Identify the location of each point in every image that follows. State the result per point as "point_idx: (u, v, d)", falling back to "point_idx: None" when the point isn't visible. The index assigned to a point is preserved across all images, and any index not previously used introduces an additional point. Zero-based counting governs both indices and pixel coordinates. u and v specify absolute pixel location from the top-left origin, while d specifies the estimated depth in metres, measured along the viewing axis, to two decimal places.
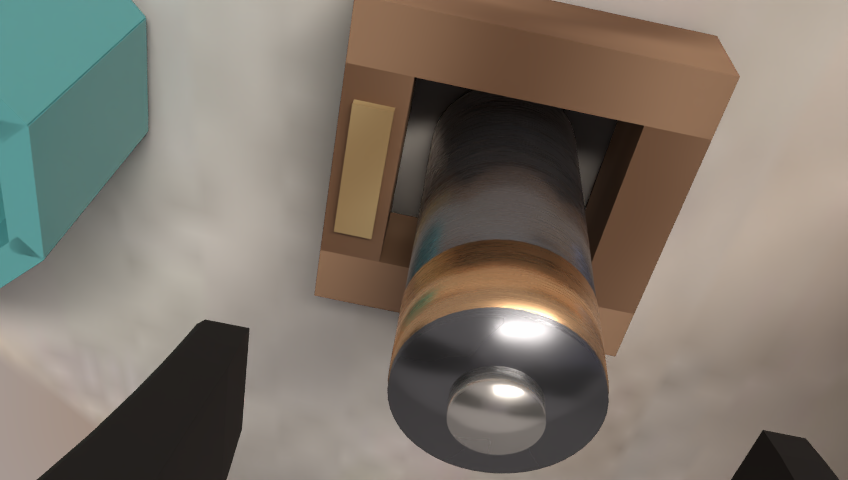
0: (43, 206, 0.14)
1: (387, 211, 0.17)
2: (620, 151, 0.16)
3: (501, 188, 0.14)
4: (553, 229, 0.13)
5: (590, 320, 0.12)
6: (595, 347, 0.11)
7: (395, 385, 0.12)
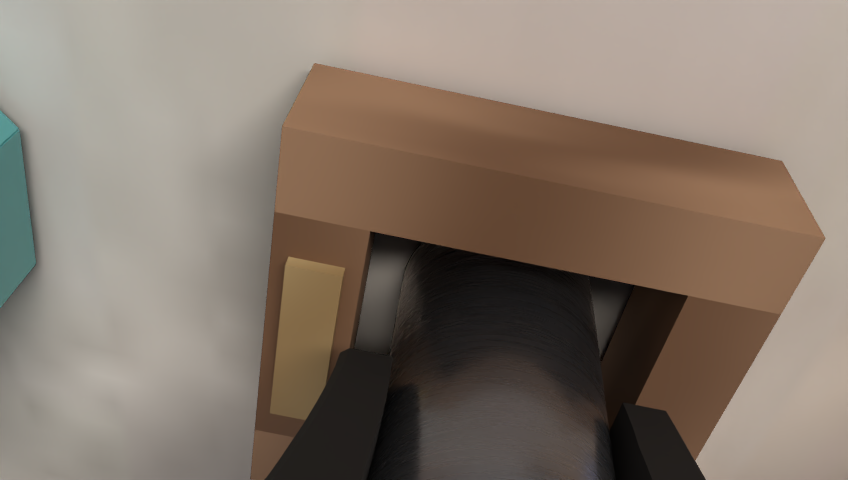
0: None
1: None
2: (651, 310, 0.12)
3: (489, 413, 0.09)
4: None
5: None
6: None
7: None
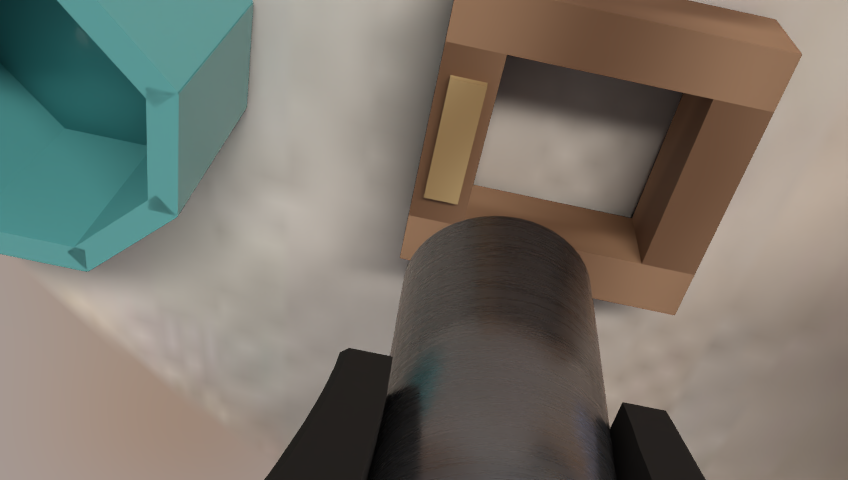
0: (181, 167, 0.16)
1: (473, 178, 0.18)
2: (686, 124, 0.18)
3: (490, 414, 0.09)
4: None
5: None
6: None
7: None
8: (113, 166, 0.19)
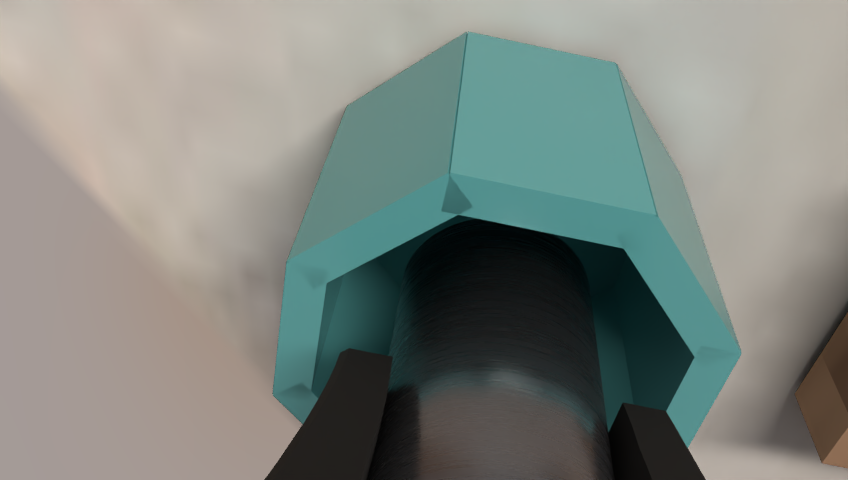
0: None
1: None
2: None
3: (488, 416, 0.09)
4: None
5: None
6: None
7: None
8: None
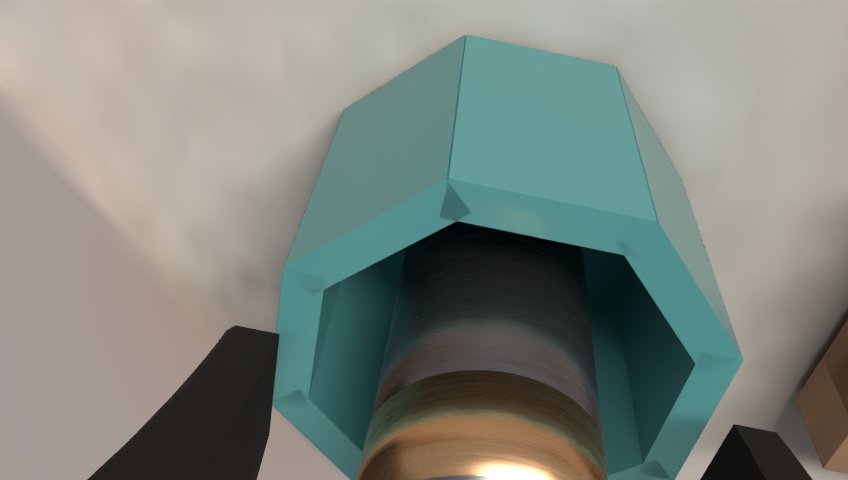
0: None
1: None
2: None
3: (487, 293, 0.11)
4: (550, 350, 0.11)
5: (595, 479, 0.09)
6: None
7: None
8: None
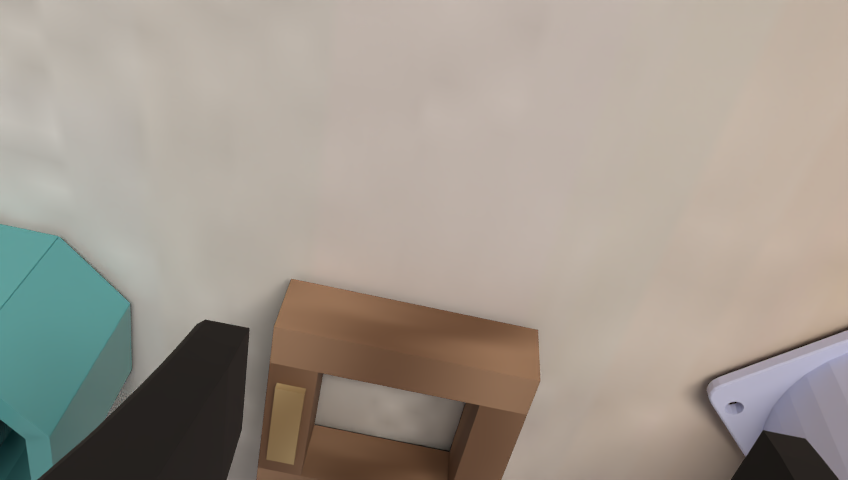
0: None
1: (304, 446, 0.23)
2: (472, 406, 0.23)
3: None
4: None
5: None
6: None
7: None
8: None
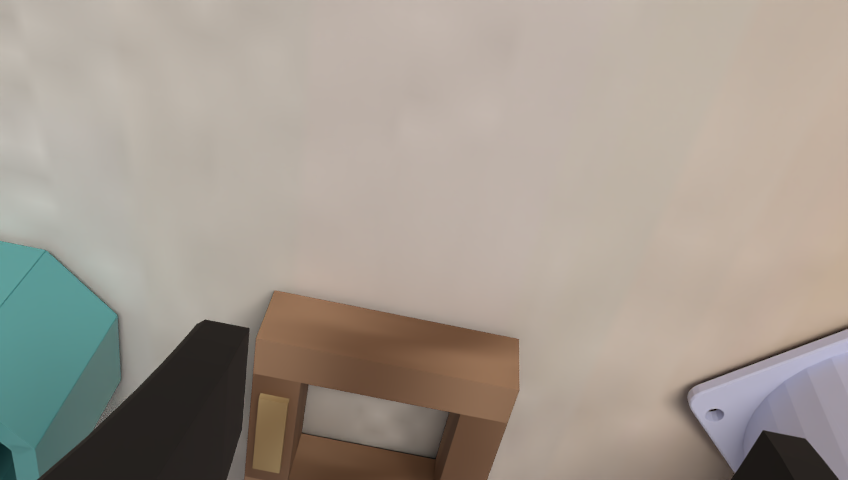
0: None
1: (290, 455, 0.23)
2: (454, 414, 0.23)
3: None
4: None
5: None
6: None
7: None
8: None
